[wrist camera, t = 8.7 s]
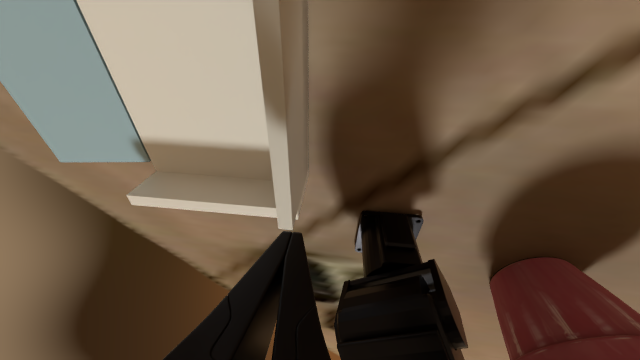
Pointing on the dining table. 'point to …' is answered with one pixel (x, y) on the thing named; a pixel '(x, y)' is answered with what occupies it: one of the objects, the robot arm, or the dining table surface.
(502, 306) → the plant pot
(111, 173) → the dining table surface
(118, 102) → the tailgate
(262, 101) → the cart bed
